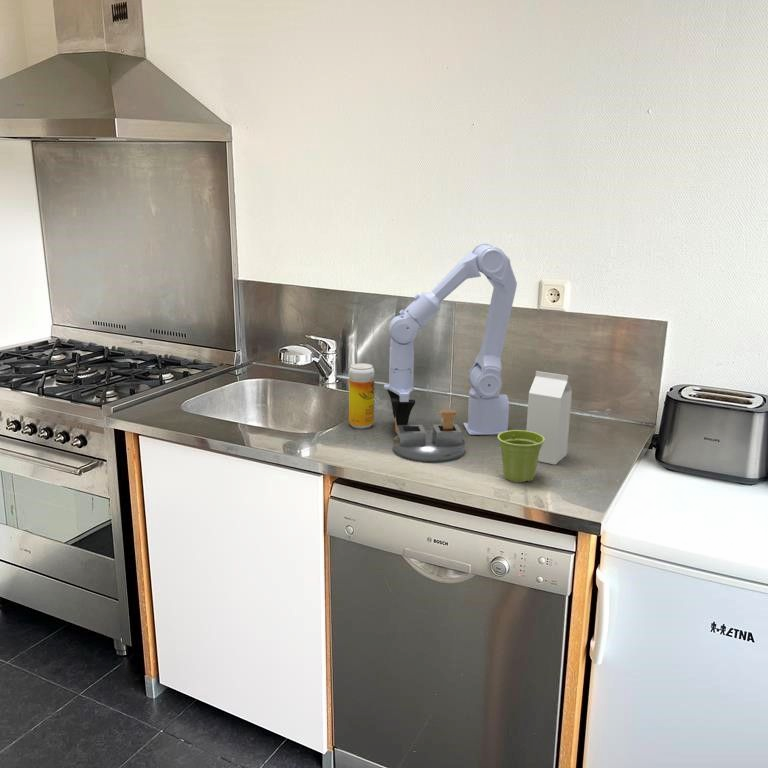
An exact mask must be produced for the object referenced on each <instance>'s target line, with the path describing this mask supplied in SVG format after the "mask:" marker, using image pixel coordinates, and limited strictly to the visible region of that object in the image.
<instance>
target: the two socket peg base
mask: <svg viewBox="0 0 768 768" xmlns="http://www.w3.org/2000/svg"><path fill="white" fill-rule="evenodd" d="M456 413H457V412H456V410H455V409H439V416H440V417H441V423H439V424H432V429H425V428H424V425H423V424H407V425H398V432H397V433H396V434H397V435H396V436H394V438H393V440H392V451H393V452H394V454H395V455H397V456H398V457H399V458H402V459H404V460H408V461H411V462H418V463H427V464H429V463H430V464H435V463H445V462H446V463H447V462H451V461H452V462H453V461H455V460H458V459H461V457H462V456H464V455H465V452H466V451H465V449H466V447H465V446H466V441H465V440H464V438H463V437H462V436H463V432H462V430H461V428H460V426H459V424H457V423H454V418H455V417H457V416H456V415H457V414H456Z"/></svg>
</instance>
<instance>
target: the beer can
mask: <svg viewBox="0 0 768 768" xmlns="http://www.w3.org/2000/svg"><path fill="white" fill-rule="evenodd" d="M348 423H349V425H350V426H351V427H352V428H354V429H361V430H362V429H369V428H371V427H373V426H372V425H374V423H375V369H374V366H373V364H370V363H365V362H364V363H359V362H358V363H354V364H350V368H349V370H348Z"/></svg>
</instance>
